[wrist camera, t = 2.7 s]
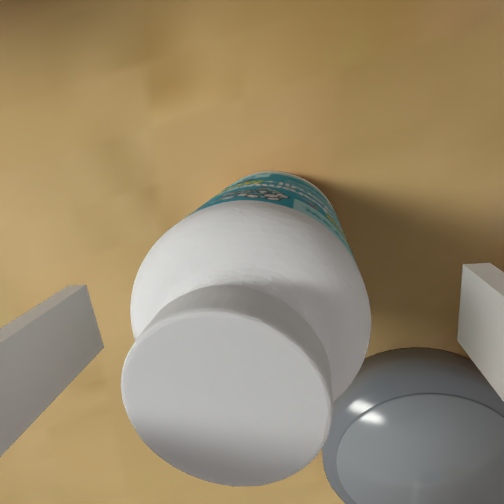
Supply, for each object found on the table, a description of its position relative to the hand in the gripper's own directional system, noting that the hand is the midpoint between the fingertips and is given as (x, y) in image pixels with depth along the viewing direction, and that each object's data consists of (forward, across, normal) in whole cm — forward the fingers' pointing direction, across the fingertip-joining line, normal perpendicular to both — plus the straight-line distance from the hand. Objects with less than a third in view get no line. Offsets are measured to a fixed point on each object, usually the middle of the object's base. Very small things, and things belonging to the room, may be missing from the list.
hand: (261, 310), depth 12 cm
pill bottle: (+9, 0, 0) cm, 9 cm away
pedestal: (+9, +8, -14) cm, 18 cm away
